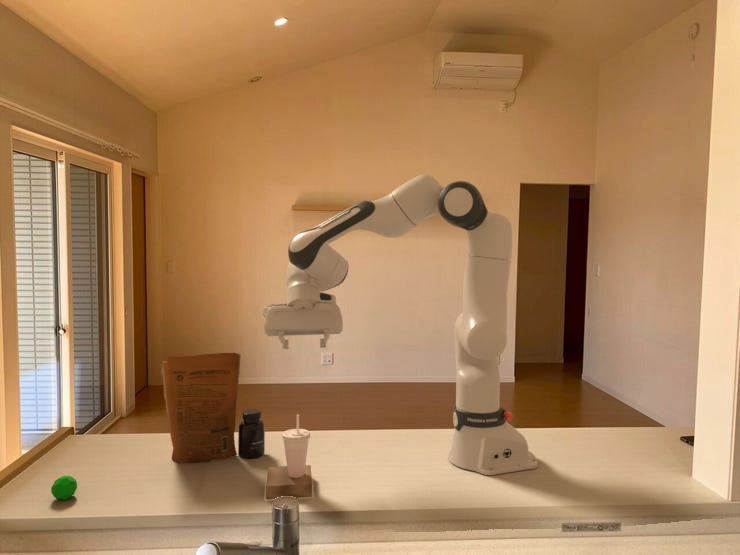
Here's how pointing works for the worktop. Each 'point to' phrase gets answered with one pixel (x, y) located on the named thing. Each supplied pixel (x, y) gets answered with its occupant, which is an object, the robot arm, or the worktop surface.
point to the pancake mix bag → (202, 405)
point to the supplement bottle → (251, 435)
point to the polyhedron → (64, 487)
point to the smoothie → (296, 450)
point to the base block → (288, 483)
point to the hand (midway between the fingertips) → (304, 347)
